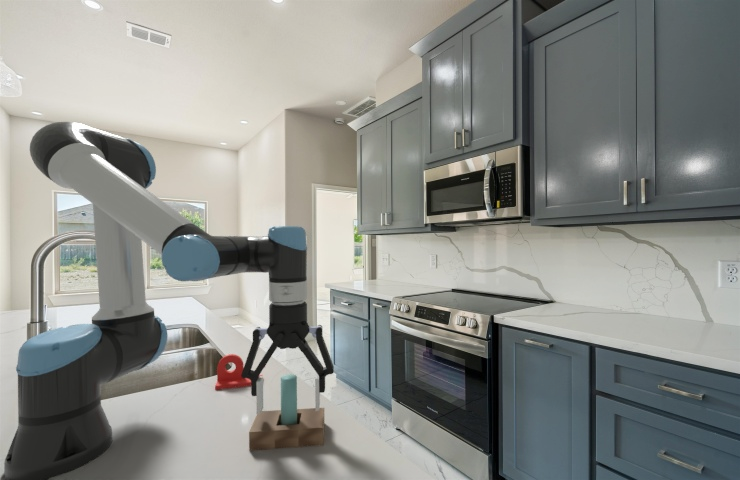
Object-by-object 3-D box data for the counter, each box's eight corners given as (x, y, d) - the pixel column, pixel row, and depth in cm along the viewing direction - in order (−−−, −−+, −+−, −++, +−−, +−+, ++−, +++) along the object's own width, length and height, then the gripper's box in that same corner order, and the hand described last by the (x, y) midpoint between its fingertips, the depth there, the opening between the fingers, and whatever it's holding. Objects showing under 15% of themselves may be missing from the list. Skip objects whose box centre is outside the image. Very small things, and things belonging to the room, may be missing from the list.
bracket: (215, 390, 93) (214, 360, 93) (218, 383, 97) (217, 355, 97) (261, 385, 96) (261, 356, 96) (262, 378, 100) (262, 351, 100)
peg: (279, 441, 69) (279, 381, 69) (282, 432, 72) (282, 374, 72) (296, 440, 69) (295, 380, 69) (298, 431, 72) (297, 374, 72)
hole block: (249, 450, 66) (249, 432, 66) (258, 427, 74) (258, 411, 74) (323, 445, 67) (323, 427, 67) (324, 423, 75) (324, 407, 75)
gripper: (223, 306, 66) (224, 422, 66) (346, 303, 68) (346, 415, 68) (234, 300, 73) (235, 403, 73) (344, 297, 75) (345, 397, 76)
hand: (289, 409), depth 71 cm, fingers open, 11 cm apart
